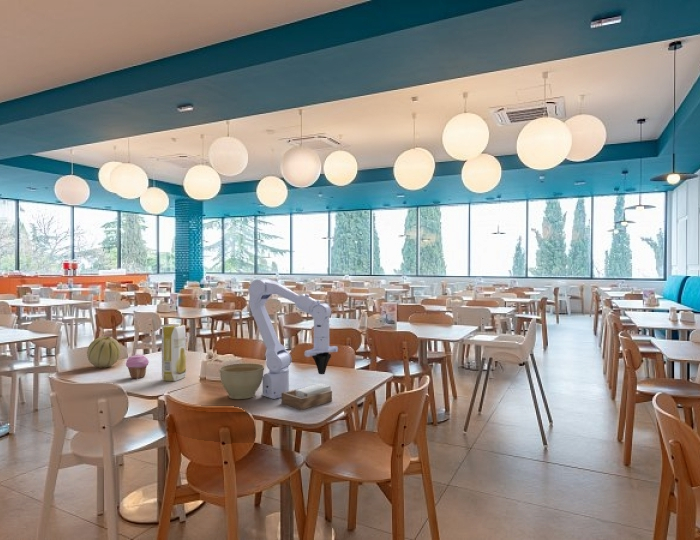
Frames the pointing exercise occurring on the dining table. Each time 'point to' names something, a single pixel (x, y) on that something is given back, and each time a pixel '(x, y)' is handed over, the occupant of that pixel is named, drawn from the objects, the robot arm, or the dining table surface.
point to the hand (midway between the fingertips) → (321, 373)
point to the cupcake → (137, 365)
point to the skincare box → (312, 390)
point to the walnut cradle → (305, 399)
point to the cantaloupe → (104, 352)
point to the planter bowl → (241, 379)
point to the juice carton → (173, 352)
